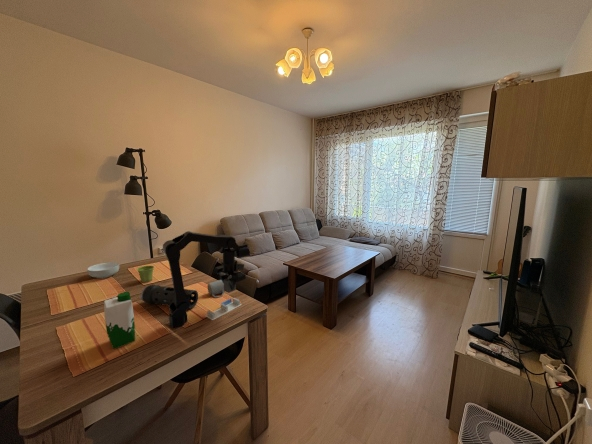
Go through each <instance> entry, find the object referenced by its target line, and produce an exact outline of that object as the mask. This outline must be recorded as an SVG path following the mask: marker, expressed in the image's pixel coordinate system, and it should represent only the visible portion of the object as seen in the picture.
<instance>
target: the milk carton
mask: <svg viewBox="0 0 592 444" xmlns="http://www.w3.org/2000/svg"><path fill="white" fill-rule="evenodd" d="M103 308H104V312H103V314H104V321H105V329H106V334H107V337H108V339H109V342H110V344H111V347H112V350H115V349H118V348H120V347H123V346H125V345H128V344H130V343H133V342H135V341H136V324H135V323H136V322H135V316H134V308H133V301H132V297H131V292H130V291H124V292H120V293H118V294H117V297H116V296H114V297H112V298H110V299H106V300H104V307H103Z"/></svg>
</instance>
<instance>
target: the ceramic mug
mask: <svg viewBox="0 0 592 444" xmlns="http://www.w3.org/2000/svg"><path fill="white" fill-rule="evenodd" d="M207 292H208V295H209V296H212V297H213V298H216V299H217V298H222V297H223V296H224V293H225V291H224V283H223V282H222V280H221V279H218V280H216V281H212V282H209V283H208V284H207ZM220 294H221V295H220ZM215 295H216V296H215ZM217 295H220V296H217Z"/></svg>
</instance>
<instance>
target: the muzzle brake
mask: <svg viewBox="0 0 592 444" xmlns="http://www.w3.org/2000/svg"><path fill="white" fill-rule="evenodd" d="M186 289H187V288H184V290H186ZM187 291H188V292H189V294H190V300H191V303H190V307H189V308H188V309H189V310H190V309H193V308H195V306H196V305H197V303H198V301H199V293H198V291H197V290H195V289H187ZM173 295H174V287H170V286H163V285H158V284H148V285H145V286H144V287H143V288H142V289H141V292H140V300H141V301H142V302H144V303H146V304H151V305H154V304H156V305H157V306H168V307H169V306H170V305H171V303H172V302H173Z"/></svg>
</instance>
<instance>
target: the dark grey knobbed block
mask: <svg viewBox="0 0 592 444" xmlns="http://www.w3.org/2000/svg"><path fill="white" fill-rule="evenodd" d="M231 277H232V276H229V277H228V278H226V279H224V280H223V281H224V283H223V284H224V292H225V293H232V292H234V291H236V290H237V286H236V284H237V283H236V284H235V287H234V290H231V287H230V284H229V281H228V279H231Z"/></svg>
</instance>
